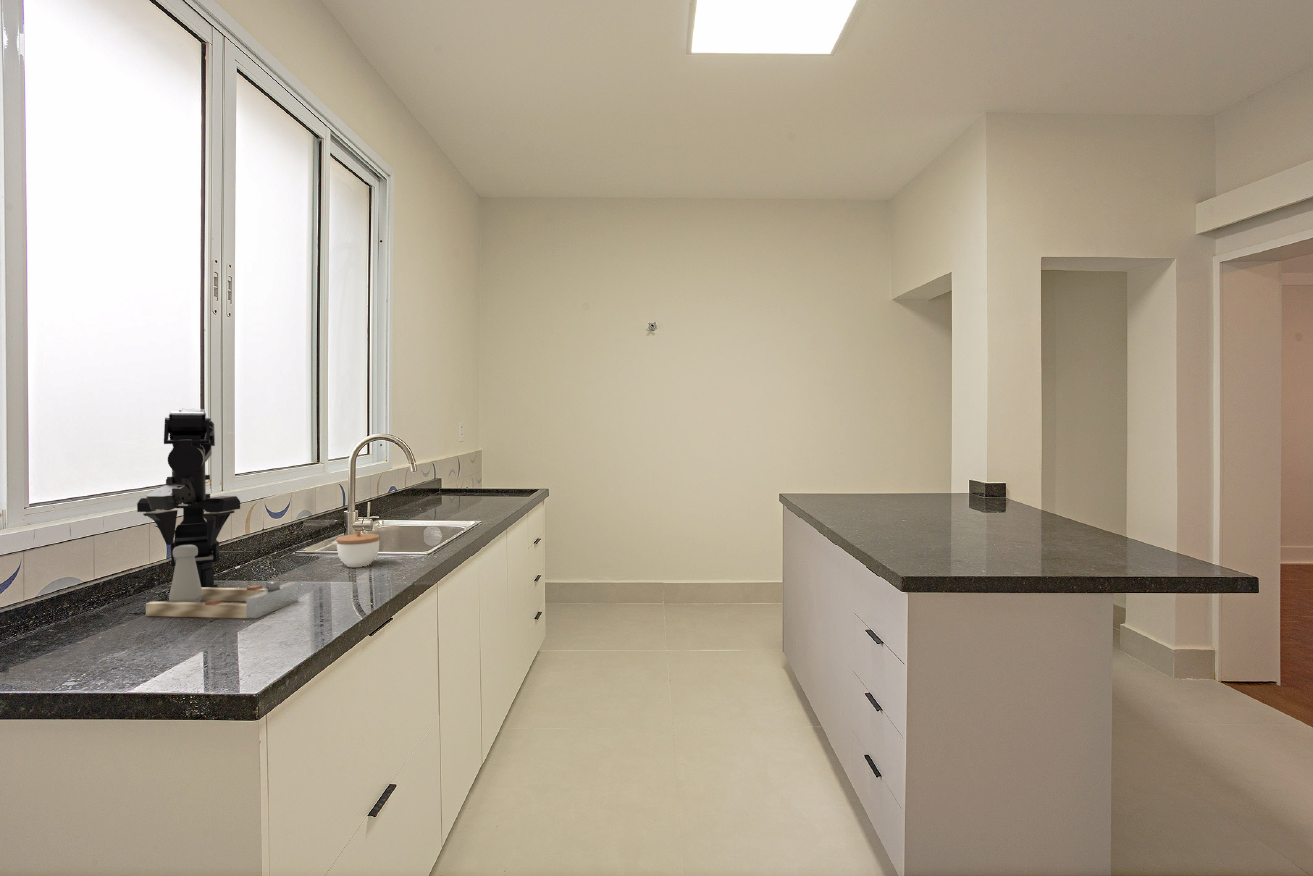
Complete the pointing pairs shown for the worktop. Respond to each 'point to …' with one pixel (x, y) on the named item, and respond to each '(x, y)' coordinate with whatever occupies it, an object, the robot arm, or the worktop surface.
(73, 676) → the worktop surface
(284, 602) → the wooden tray
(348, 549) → the lidded jar
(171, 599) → the salt shaker
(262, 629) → the worktop surface
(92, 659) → the worktop surface
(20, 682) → the worktop surface
